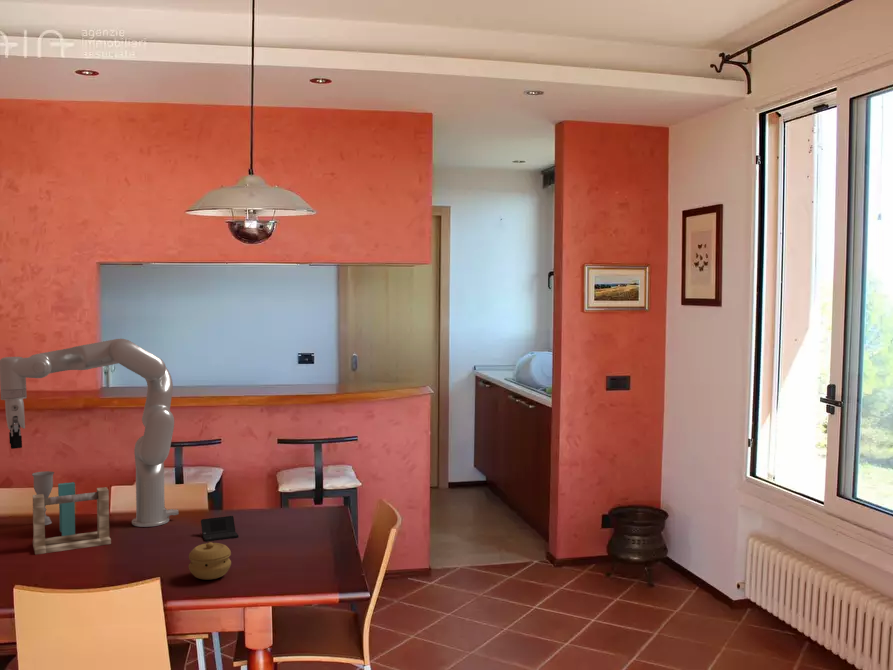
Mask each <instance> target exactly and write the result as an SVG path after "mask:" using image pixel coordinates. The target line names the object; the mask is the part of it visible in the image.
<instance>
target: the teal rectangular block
mask: <svg viewBox="0 0 893 670" xmlns="http://www.w3.org/2000/svg"><path fill="white" fill-rule="evenodd" d="M57 487H58V488H57V489H58V491H57V492H58V494H57V495H58V496H66V495H75V494H76V482H74V481H71V482H63V483H57ZM75 503H76V502H71V503H62V504H58V506H59V510H58V513H59V516H58V517H59V532H60V533H61V536H67V535H74V534H76V515H75V514H76V508H75V507H76V505H75Z"/></svg>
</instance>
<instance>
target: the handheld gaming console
mask: <svg viewBox="0 0 893 670" xmlns="http://www.w3.org/2000/svg"><path fill="white" fill-rule="evenodd" d="M235 524H236V523H235V519H234V516H233V515H227V516H218V517H211V518H203V519H200V525H201V533H202V538H203V540H204V542H206V543H209V542H214V541H223V540H230V539H238V538H239V534H238V533H237V531H236V526H235Z"/></svg>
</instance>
